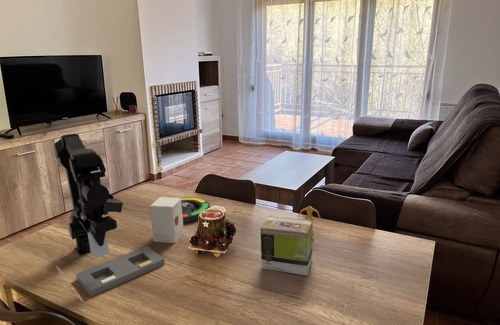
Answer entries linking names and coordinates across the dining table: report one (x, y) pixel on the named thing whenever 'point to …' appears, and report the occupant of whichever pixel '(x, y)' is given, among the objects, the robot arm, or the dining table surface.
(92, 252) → the plug
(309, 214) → the figurine
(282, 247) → the tea box
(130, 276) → the panel
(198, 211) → the electronic game
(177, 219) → the supplement box
